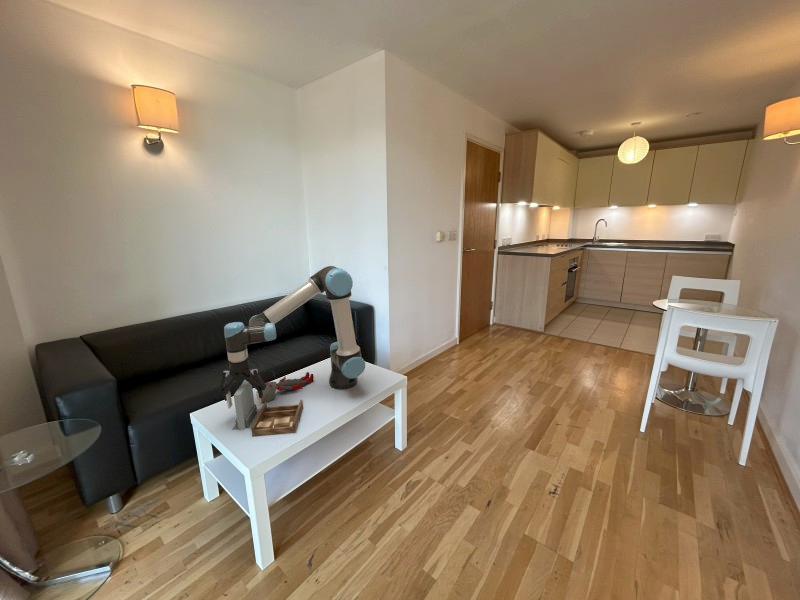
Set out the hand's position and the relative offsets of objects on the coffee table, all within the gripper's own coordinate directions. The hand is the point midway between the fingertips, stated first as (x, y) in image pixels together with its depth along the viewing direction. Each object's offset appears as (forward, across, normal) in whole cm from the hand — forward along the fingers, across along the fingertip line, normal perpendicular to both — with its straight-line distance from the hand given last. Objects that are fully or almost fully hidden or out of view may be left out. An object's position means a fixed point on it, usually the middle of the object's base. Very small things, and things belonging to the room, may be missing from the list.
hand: (245, 405), depth 141 cm
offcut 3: (+7, -18, +9) cm, 21 cm away
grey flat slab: (+7, 0, 0) cm, 7 cm away
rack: (+8, -14, +3) cm, 17 cm away
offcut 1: (+7, -10, +9) cm, 15 cm away
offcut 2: (+5, -17, +9) cm, 20 cm away
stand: (+8, 0, 0) cm, 8 cm away
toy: (+8, -12, -25) cm, 29 cm away
